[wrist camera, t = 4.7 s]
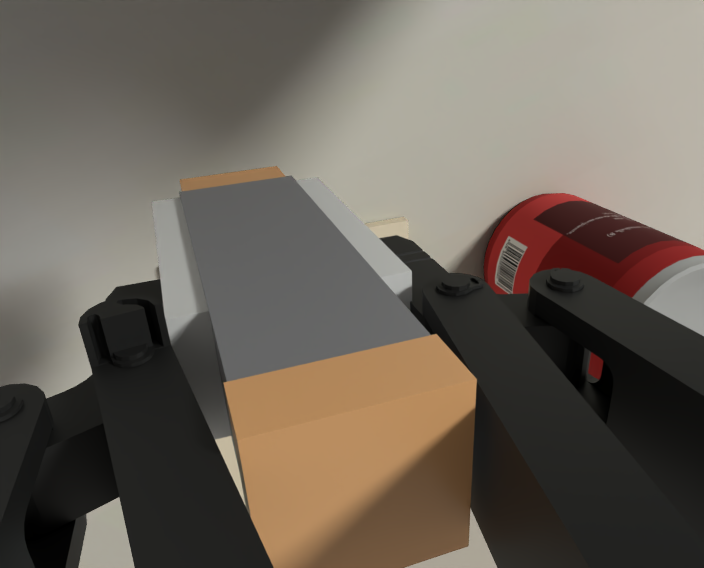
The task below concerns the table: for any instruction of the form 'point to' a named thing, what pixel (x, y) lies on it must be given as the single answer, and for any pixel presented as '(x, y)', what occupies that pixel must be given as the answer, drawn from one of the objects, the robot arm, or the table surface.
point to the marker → (328, 384)
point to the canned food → (597, 256)
